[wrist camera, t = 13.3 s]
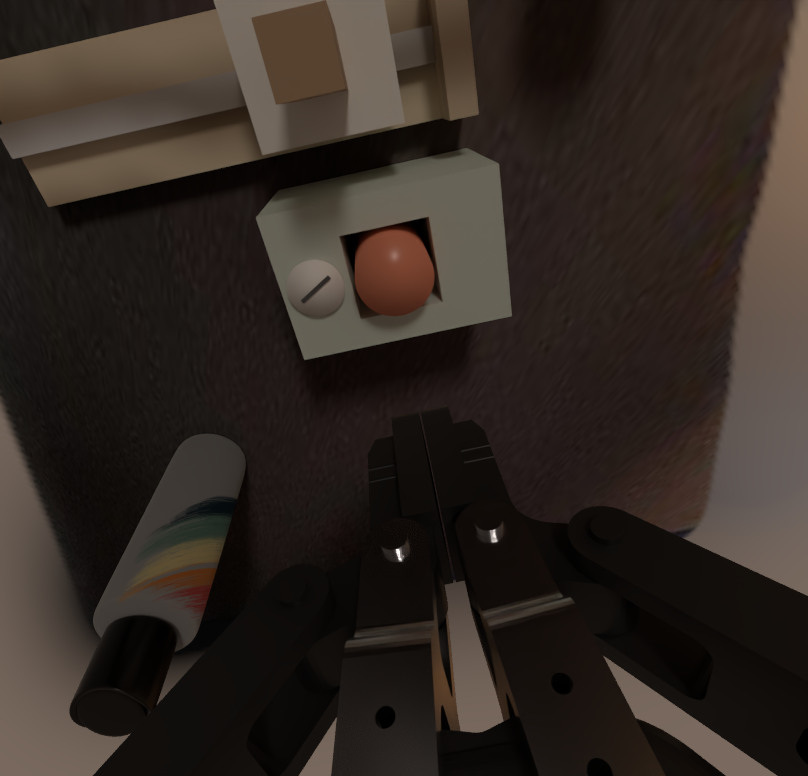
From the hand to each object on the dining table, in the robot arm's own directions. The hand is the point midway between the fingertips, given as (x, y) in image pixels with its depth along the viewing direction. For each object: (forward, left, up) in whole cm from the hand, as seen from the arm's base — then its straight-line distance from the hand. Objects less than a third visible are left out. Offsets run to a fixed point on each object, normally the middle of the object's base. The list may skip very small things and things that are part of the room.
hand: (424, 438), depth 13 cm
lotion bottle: (+15, -18, -23) cm, 33 cm away
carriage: (-9, -1, -20) cm, 22 cm away
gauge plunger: (0, 0, -19) cm, 19 cm away
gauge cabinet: (0, 0, -23) cm, 23 cm away
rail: (-9, -6, -23) cm, 26 cm away
